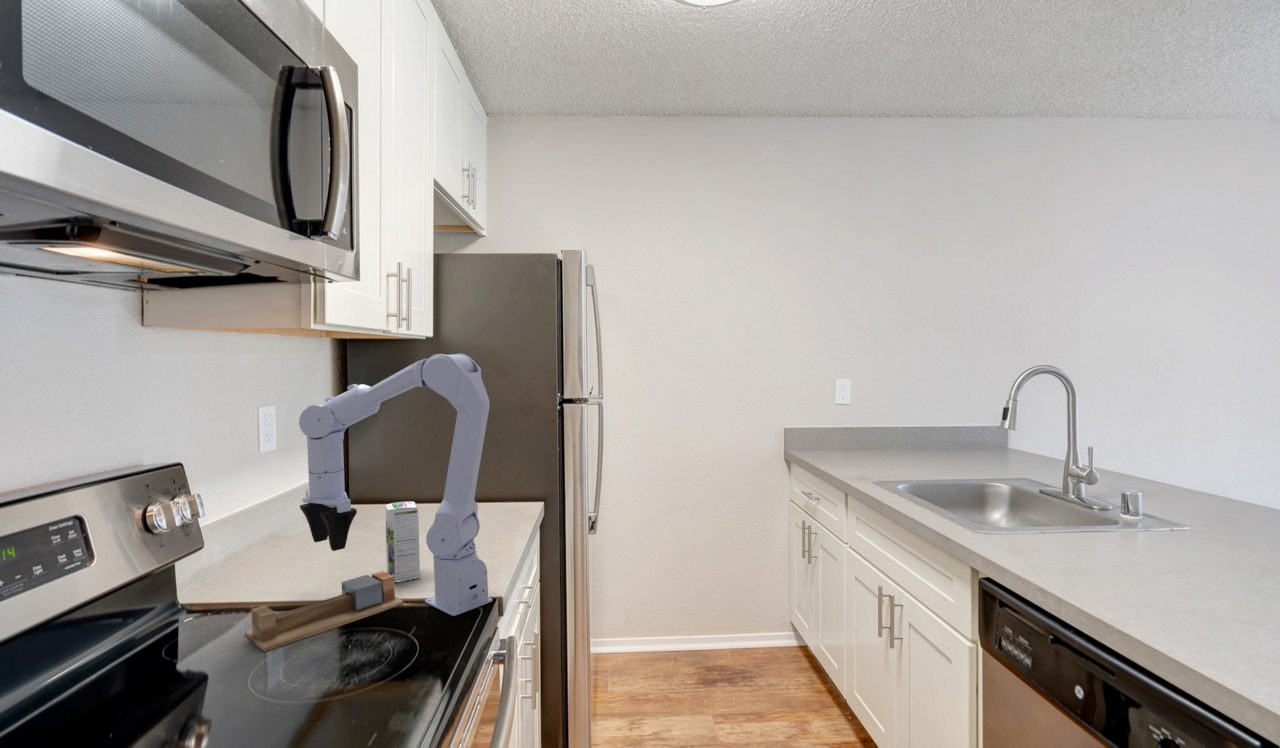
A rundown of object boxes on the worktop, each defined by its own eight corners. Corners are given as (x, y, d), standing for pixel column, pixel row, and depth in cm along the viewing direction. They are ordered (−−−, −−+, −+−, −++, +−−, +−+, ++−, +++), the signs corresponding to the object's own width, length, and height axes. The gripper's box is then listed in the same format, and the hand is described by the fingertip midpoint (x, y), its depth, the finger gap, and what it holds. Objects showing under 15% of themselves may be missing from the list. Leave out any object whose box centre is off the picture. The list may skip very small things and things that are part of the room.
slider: (382, 602, 108) (381, 581, 108) (356, 610, 104) (355, 589, 104) (367, 594, 112) (366, 574, 111) (342, 602, 108) (341, 582, 108)
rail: (403, 604, 109) (402, 578, 109) (264, 652, 93) (263, 621, 92) (379, 591, 115) (378, 567, 115) (245, 634, 99) (243, 606, 98)
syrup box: (386, 575, 123) (383, 503, 123) (417, 569, 126) (414, 499, 125) (389, 584, 118) (386, 510, 118) (421, 578, 121) (418, 505, 120)
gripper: (287, 469, 113) (290, 542, 113) (319, 479, 103) (322, 559, 104) (327, 463, 118) (329, 533, 119) (361, 472, 108) (364, 548, 109)
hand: (329, 545), depth 111 cm, fingers open, 7 cm apart
